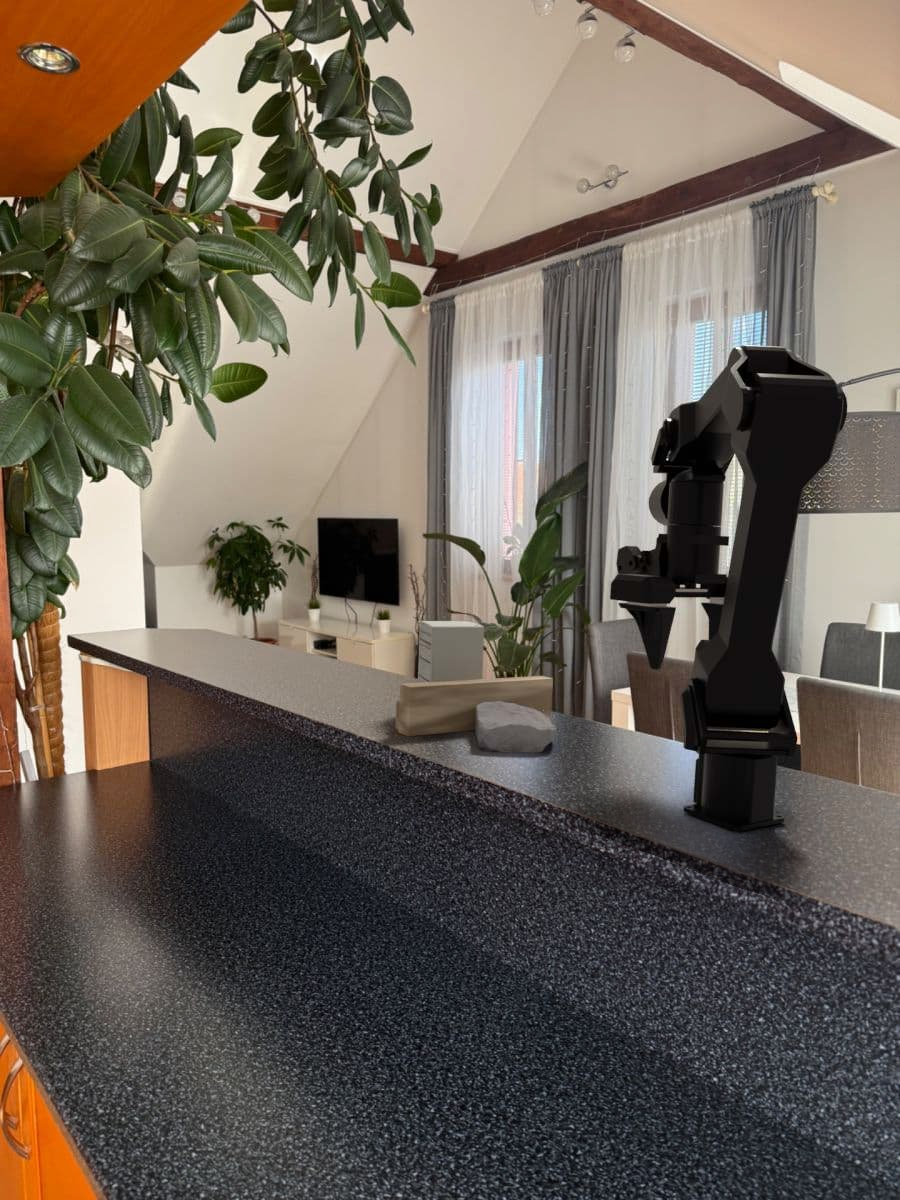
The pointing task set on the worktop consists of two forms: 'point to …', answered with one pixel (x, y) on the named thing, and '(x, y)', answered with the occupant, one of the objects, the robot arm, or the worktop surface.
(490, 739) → the stone block
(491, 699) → the block
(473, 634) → the supplement box
